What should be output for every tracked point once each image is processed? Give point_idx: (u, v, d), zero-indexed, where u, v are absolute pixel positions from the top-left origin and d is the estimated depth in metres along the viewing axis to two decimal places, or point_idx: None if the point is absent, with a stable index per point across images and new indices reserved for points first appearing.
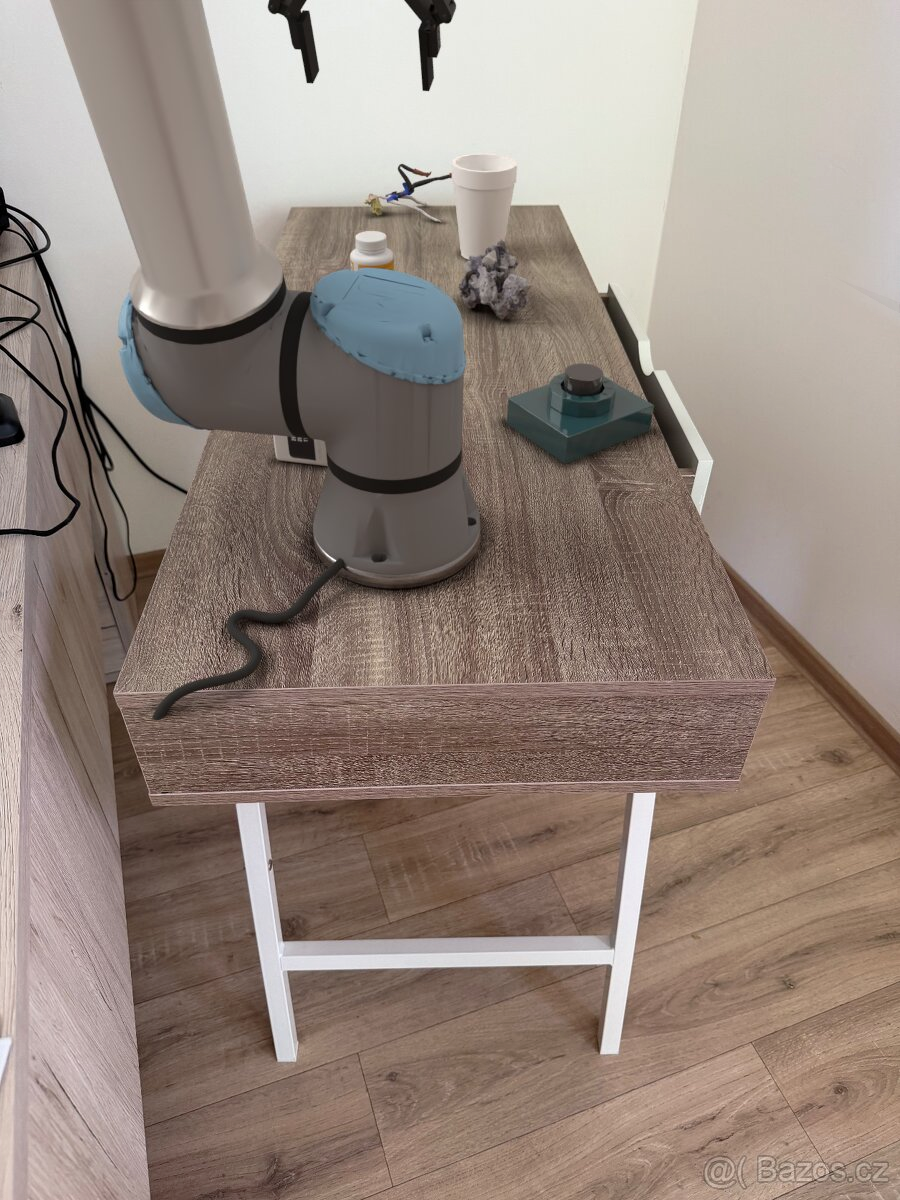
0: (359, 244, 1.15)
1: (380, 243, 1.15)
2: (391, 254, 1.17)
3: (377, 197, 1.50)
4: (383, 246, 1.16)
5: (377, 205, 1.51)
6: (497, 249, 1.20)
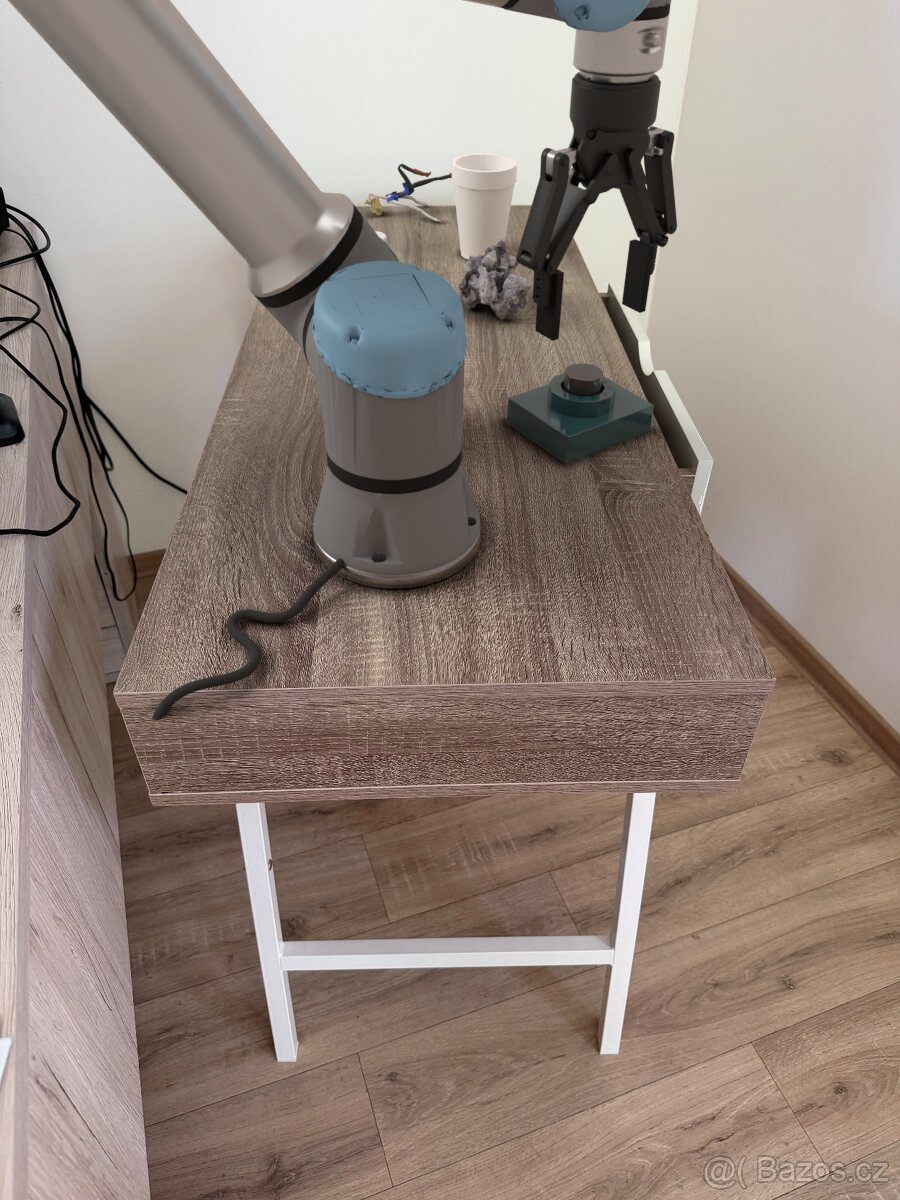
0: None
1: None
2: None
3: (377, 197, 1.50)
4: None
5: (377, 205, 1.51)
6: (497, 249, 1.20)
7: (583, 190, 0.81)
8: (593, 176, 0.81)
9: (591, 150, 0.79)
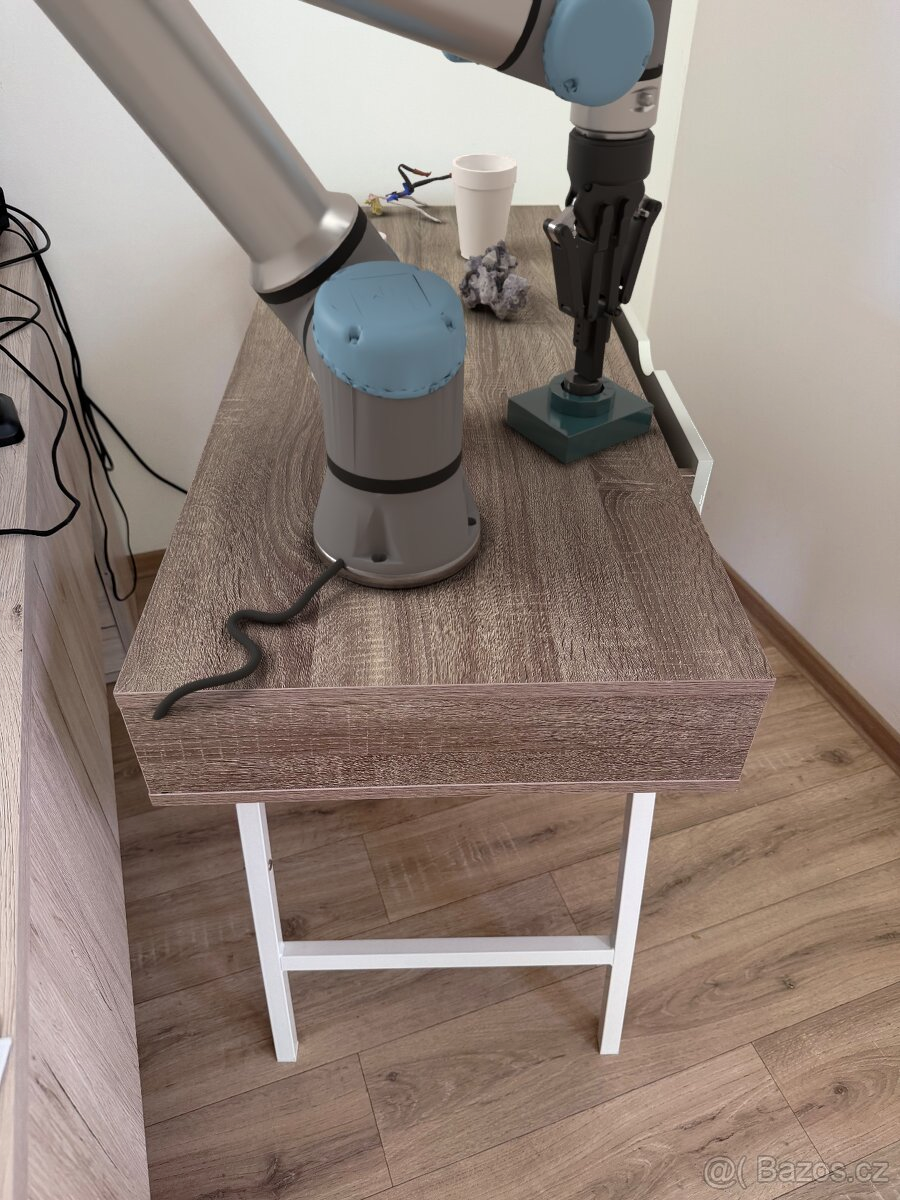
0: None
1: None
2: None
3: (377, 197, 1.50)
4: None
5: (377, 205, 1.51)
6: (497, 249, 1.20)
7: (592, 245, 0.85)
8: (596, 231, 0.84)
9: (586, 203, 0.82)
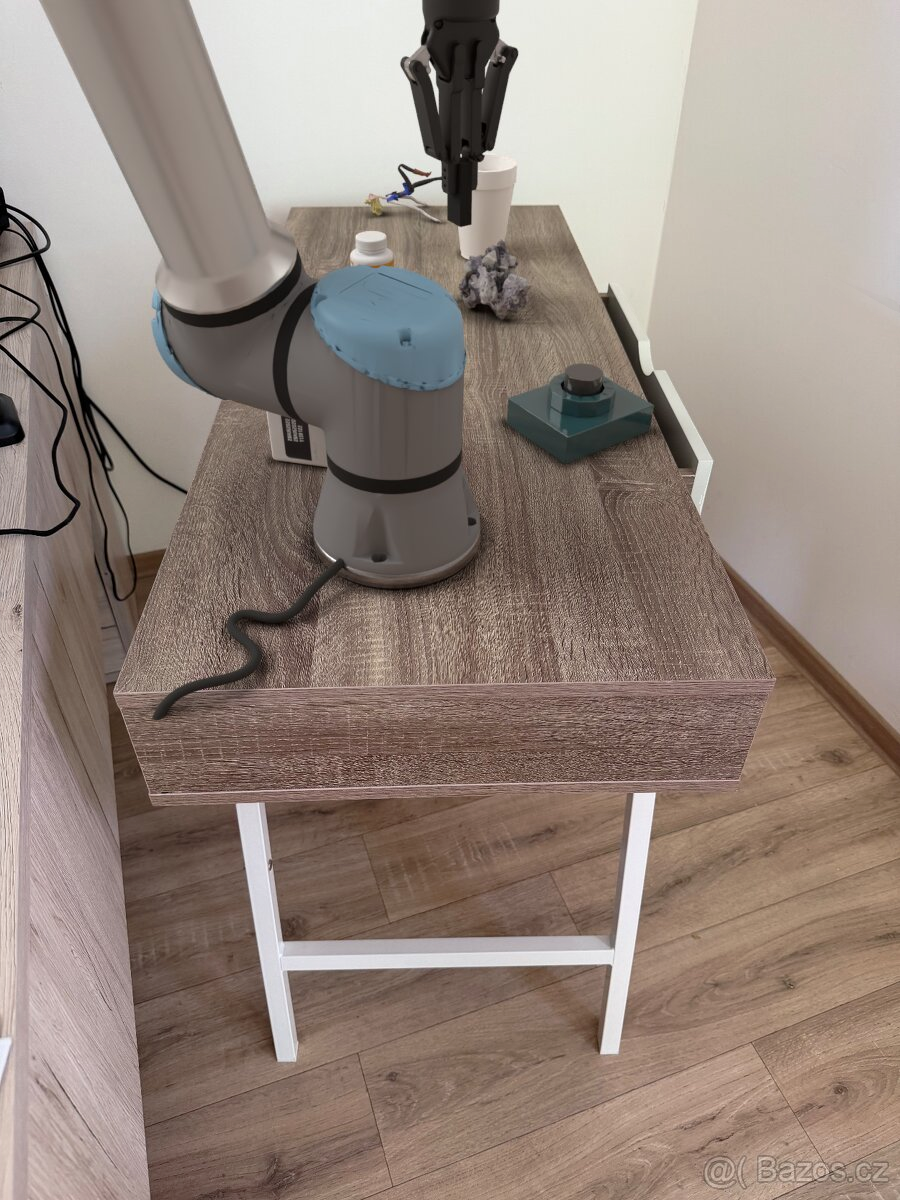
0: (359, 244, 1.15)
1: (380, 243, 1.15)
2: (391, 254, 1.17)
3: (377, 197, 1.50)
4: (383, 246, 1.16)
5: (377, 205, 1.51)
6: (497, 249, 1.20)
7: (449, 85, 0.92)
8: (451, 70, 0.91)
9: (438, 40, 0.89)
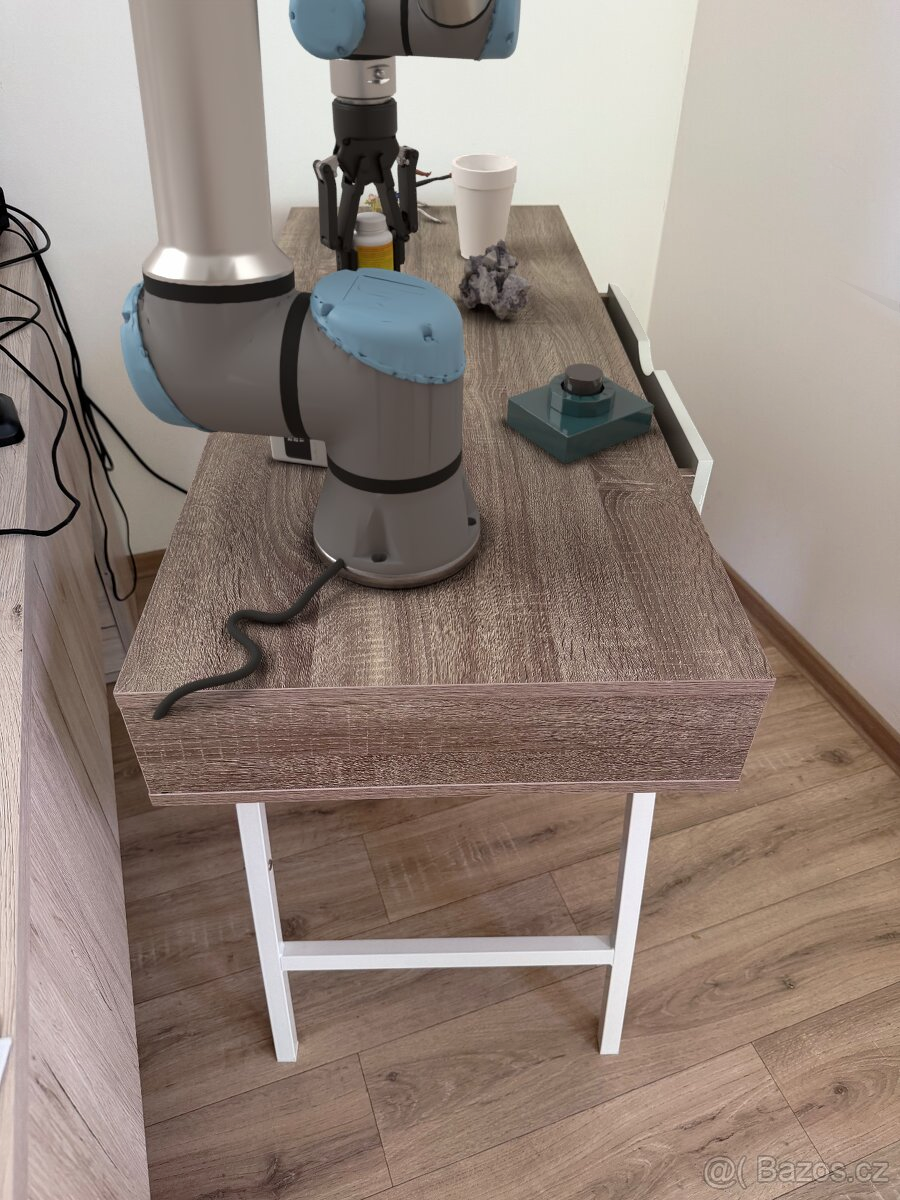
0: (357, 224, 1.13)
1: (379, 223, 1.13)
2: (390, 235, 1.15)
3: (377, 197, 1.50)
4: (382, 227, 1.14)
5: (377, 205, 1.51)
6: (497, 249, 1.20)
7: (352, 187, 1.10)
8: (355, 176, 1.09)
9: (347, 154, 1.07)
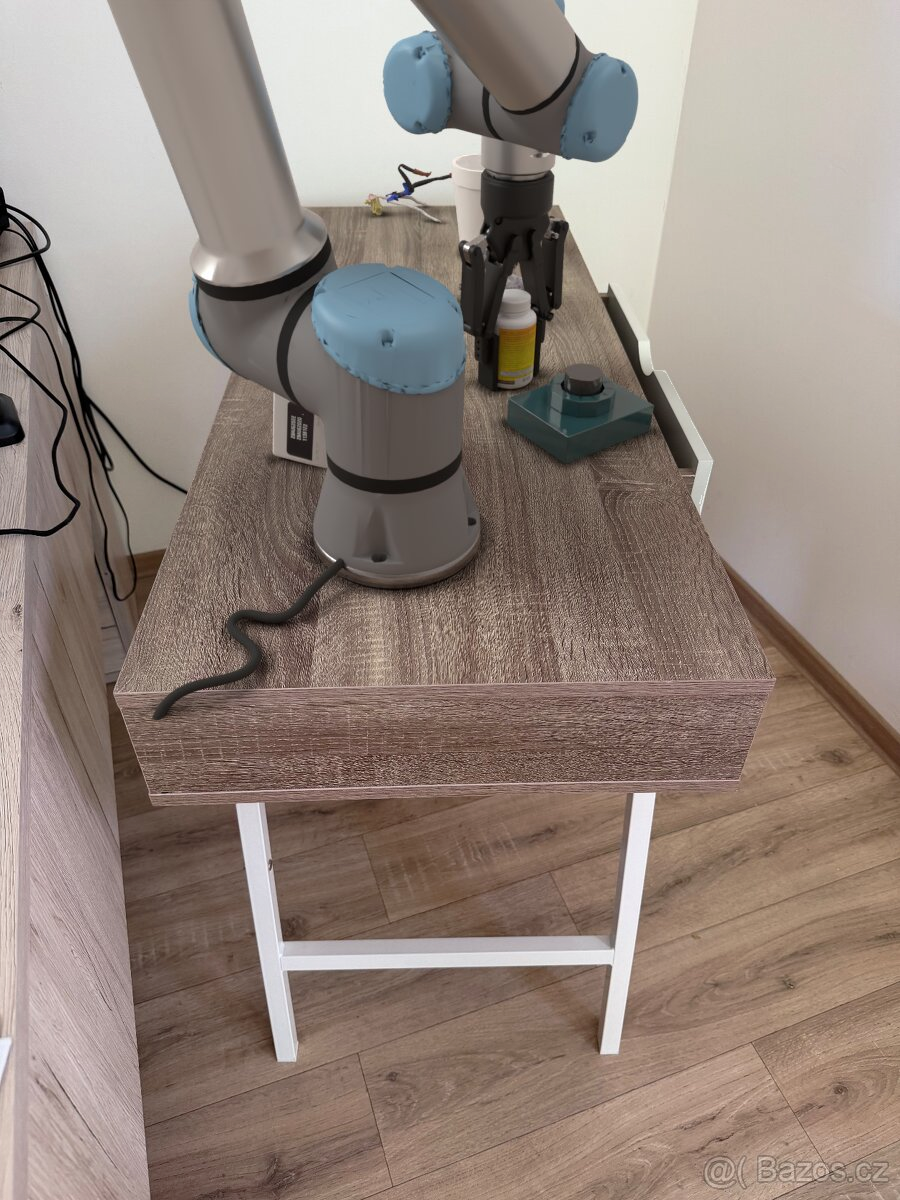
0: (501, 305, 1.01)
1: (525, 303, 1.01)
2: (535, 315, 1.03)
3: (377, 197, 1.50)
4: (528, 307, 1.02)
5: (377, 205, 1.51)
6: None
7: (499, 268, 0.97)
8: (504, 256, 0.97)
9: (498, 233, 0.95)
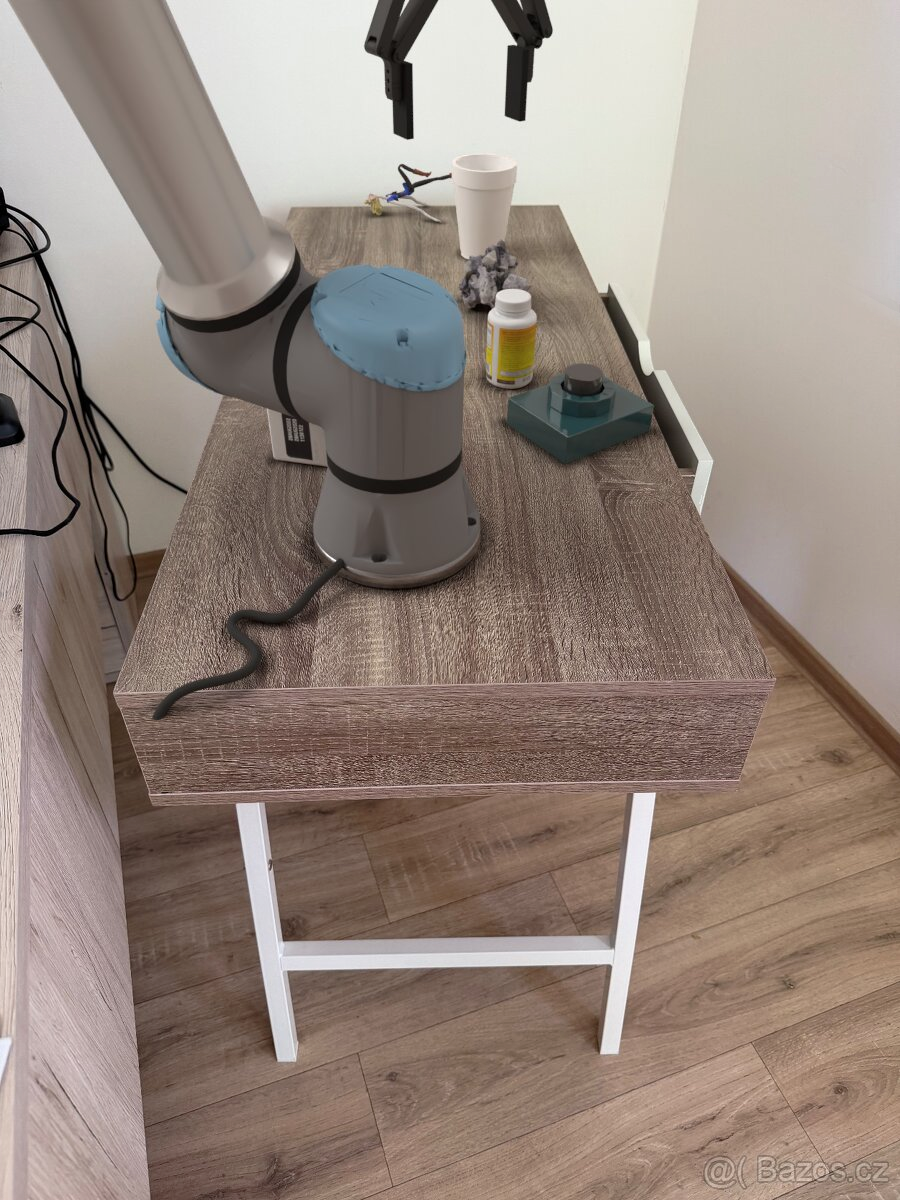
0: (501, 305, 1.01)
1: (526, 303, 1.01)
2: (535, 315, 1.03)
3: (377, 197, 1.50)
4: (528, 307, 1.02)
5: (377, 205, 1.51)
6: (497, 249, 1.20)
7: None
8: None
9: None
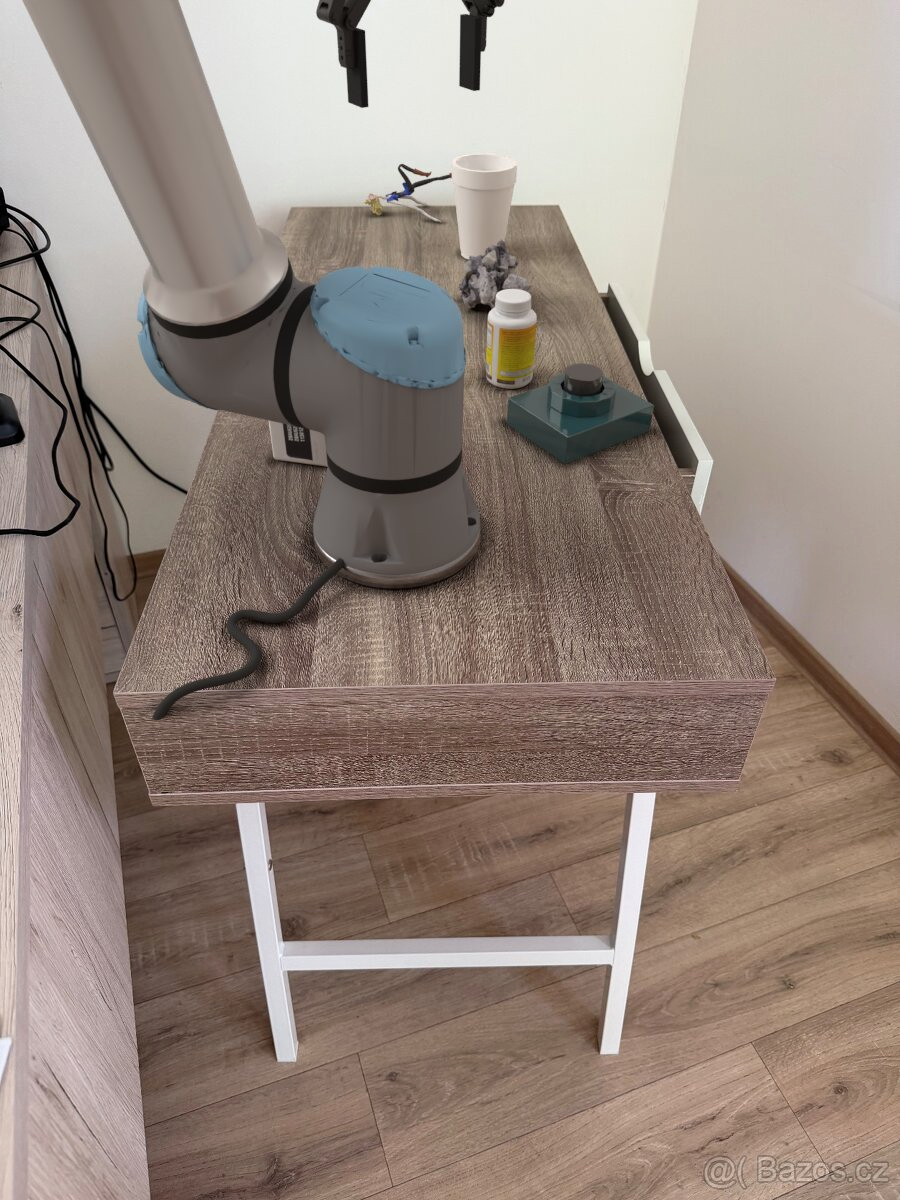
0: (501, 305, 1.01)
1: (526, 303, 1.01)
2: (535, 315, 1.03)
3: (377, 197, 1.50)
4: (528, 307, 1.02)
5: (377, 205, 1.51)
6: (497, 249, 1.20)
7: None
8: None
9: None
